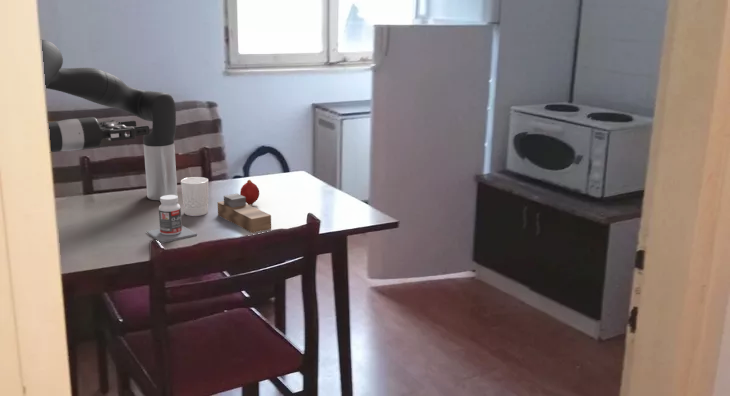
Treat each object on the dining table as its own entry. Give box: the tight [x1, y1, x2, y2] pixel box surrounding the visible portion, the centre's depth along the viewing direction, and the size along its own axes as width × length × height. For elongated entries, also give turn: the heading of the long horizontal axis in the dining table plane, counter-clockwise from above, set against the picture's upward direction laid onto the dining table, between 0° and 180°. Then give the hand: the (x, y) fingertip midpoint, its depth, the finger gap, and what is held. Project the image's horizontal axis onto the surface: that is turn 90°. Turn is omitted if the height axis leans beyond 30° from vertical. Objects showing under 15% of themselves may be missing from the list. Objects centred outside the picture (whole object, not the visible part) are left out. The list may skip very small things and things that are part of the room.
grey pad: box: [146, 224, 198, 244], centre depth 200 cm, size 10×10×1 cm
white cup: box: [180, 176, 209, 217], centre depth 218 cm, size 8×8×10 cm
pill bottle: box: [158, 195, 183, 235], centre depth 199 cm, size 6×6×10 cm
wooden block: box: [217, 193, 272, 234], centre depth 211 cm, size 20×6×6 cm, turn 38°
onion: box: [239, 179, 260, 206], centre depth 227 cm, size 6×6×8 cm
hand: (142, 127), depth 189 cm, fingers open, 8 cm apart
